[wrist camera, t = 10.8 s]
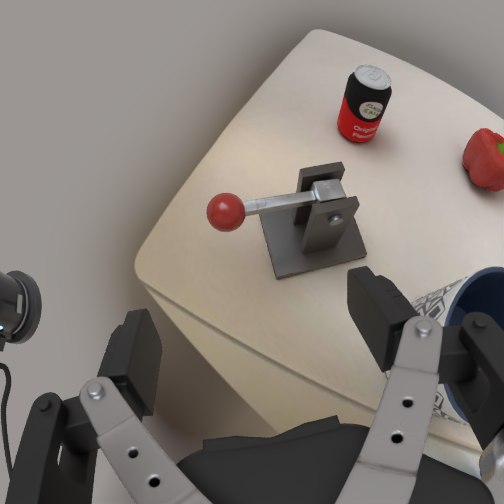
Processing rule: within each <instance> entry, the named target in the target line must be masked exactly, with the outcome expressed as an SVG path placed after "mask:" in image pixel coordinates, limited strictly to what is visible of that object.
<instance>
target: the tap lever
mask: <svg viewBox="0 0 504 504" xmlns="http://www.w3.org/2000/svg"><path fill="white" fill-rule="evenodd" d="M344 198H346V195H345V193H344V190H343V188H342V185H341V183H340V180H339V179H330V180H323V181H316V182H313V184H312V186H311V188H310V191H306V192H299V193H293V194H287V195H280V196H274V197H268V198H262V199H257V200H251V201H245V202H242V200H241V199H240V198H239V197H237V196H236V195H234V194H231V193H222V194H219V195H217V196H215V197H214V198H213V199H212V200H211V201H210V202H209V204H208V207H207V218H208V221H209V223H210V224H211V225H212V226H213V227H214V228H215V229H217V230H219V231H222V232H230V231H233V230H236V229H237V228H238V227H240V226H241V224H242V223H243V221H244V219H245V216H250V215H255V214H261V213H267V212H272V211H278V210H284V209H289V208H295V207H301V206H307V205H312V206H313V205H315V204H320V203H325V202H330V201H334V200H339V199H344Z"/></svg>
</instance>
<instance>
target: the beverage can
mask: <svg viewBox="0 0 504 504" xmlns="http://www.w3.org/2000/svg"><path fill="white" fill-rule="evenodd" d="M390 85H391V79H390V77H389V76H388V75H387V74H386V73H385V72H384V71H383V70H381V69H379V68H377V67H375V66H371V65H361V66H358V67H357V68H356V69H355V72H353V73H352V74H351V75H350V76H349V78H348V82H347V86H346V90H345V94H344V98H343V102H342V106H341V109H340V113H339V117H338V122H337V123H338V128H339V130H340V131H341V133H342V134H343V135H344V136H345V137H347V138H348V139H350V140H353V141H356V142H365V141H369V140H370V139H372V138H373V137H374V135H375V133H376V131H377V128H378V126H379V124H380V121H381V119H382V116H383V114H384V112H385V109H386V107H387V104H388V102H389V99H390V97H391V94H392V90H391V86H390Z"/></svg>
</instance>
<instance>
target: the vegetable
mask: <svg viewBox="0 0 504 504" xmlns="http://www.w3.org/2000/svg"><path fill="white" fill-rule="evenodd" d="M463 163H464V166H465V168H466V169H467V170H468V171H469V172H470V178H471V180H472V181H473V183H474V184H476V185H477V186H481V187H485V188H486V189H487V190H489V191H492V192H497V191H500V190H502V189H504V138H503V137H502V136H500V135H499V134H497V133H493V132H492V131H491V130H489V129H487V128H483V129H480V130H478V131H476V132H475V133H474V134H473V136H472V137H471V139H470V140H469V142H468V144H467V146H466V148H465V151H464V155H463Z"/></svg>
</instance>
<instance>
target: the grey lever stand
mask: <svg viewBox="0 0 504 504" xmlns="http://www.w3.org/2000/svg"><path fill="white" fill-rule="evenodd" d="M344 171H345V168H344V166H343V164H342V162H336V163H330V164H325V165H319V166H313V167H308V168H303V169H300V173H299V179H298V185H297V191H296V193H299V192H306V191H310V188H311V186H312V184H313V182H316V181H323V180H330V179H339V180H340V181H341V179H342V176H343V174H344ZM359 205H360V204H359V202H358V199H357V197H356V196H354V197H349V198H347V197H346V198H344V199H339V200H334V201H330V202H325V203H320V204H315V205H313V206H312V205H307V206H301V207H295V208H289V209H284V210H278V211H272V212H267V213H261V214H259V216H260V220H261V223H262V227H263V231H264V235H265V238H266V242H267V246H268V250H269V254H270V257H271V261H272V265H273V269H274V273H275V277H276V279H280V278H284V277H288V276H292V275H296V274H300V273H305V272H309V271H313V270H316V269H320V268H324V267H328V266H332V265H336V264H340V263H344V262H348V261H352V260H355V259H359V258H363V257H365V256H366V255H367V252H366V249H365V246H364V244H363V241H362V238H361V235H360V232H359V229H358V227H357V224H356V221H355V218H354V214H355V212H356V211H357V209H358V207H359Z"/></svg>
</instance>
